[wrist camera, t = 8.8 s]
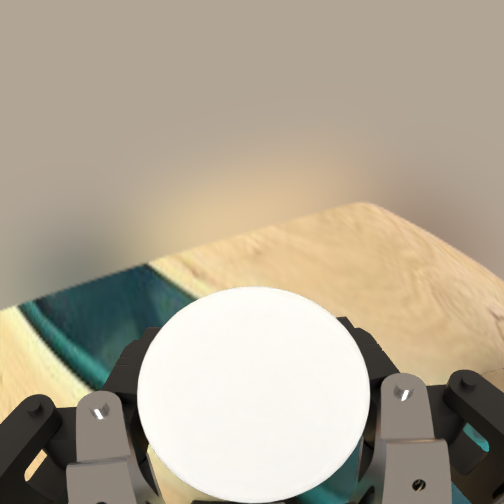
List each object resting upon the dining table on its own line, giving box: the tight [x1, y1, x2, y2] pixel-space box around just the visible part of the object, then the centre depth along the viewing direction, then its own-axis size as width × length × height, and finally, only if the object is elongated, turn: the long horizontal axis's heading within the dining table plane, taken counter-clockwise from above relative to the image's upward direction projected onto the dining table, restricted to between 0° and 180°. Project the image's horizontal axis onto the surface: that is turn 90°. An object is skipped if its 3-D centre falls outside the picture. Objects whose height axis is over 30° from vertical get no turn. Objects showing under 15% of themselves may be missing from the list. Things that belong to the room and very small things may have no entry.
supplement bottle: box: [137, 286, 370, 503], centre depth 8 cm, size 6×6×10 cm
